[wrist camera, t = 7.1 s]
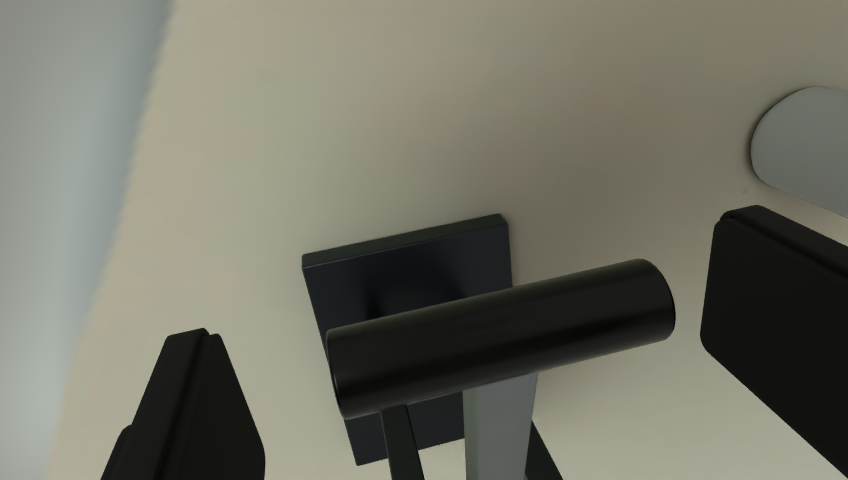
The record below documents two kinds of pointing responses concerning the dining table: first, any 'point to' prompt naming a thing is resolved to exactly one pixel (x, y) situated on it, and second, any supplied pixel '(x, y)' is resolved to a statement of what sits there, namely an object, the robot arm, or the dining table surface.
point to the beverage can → (806, 147)
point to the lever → (497, 352)
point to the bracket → (404, 291)
